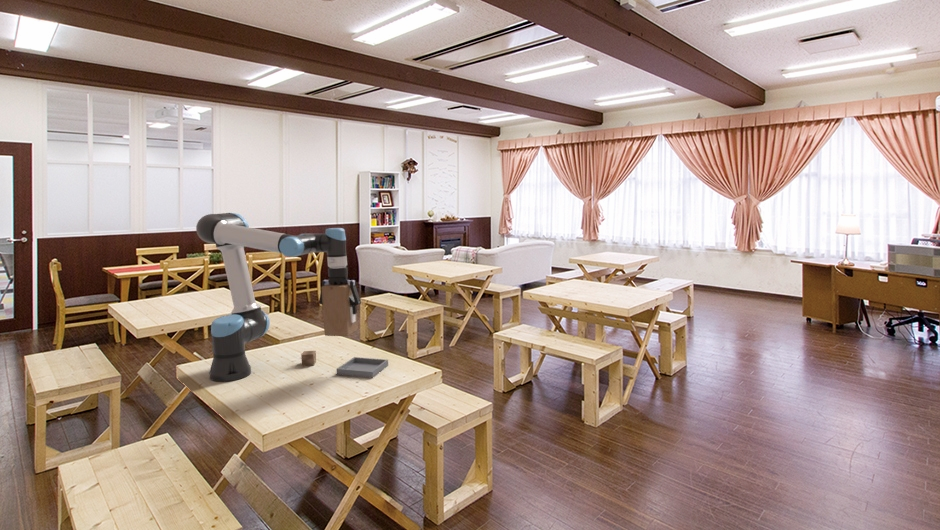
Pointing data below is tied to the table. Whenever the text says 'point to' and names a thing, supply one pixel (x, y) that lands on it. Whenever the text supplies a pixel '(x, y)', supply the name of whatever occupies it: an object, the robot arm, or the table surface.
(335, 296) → the wooden block
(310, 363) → the walnut cube
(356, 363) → the tray
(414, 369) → the table surface
